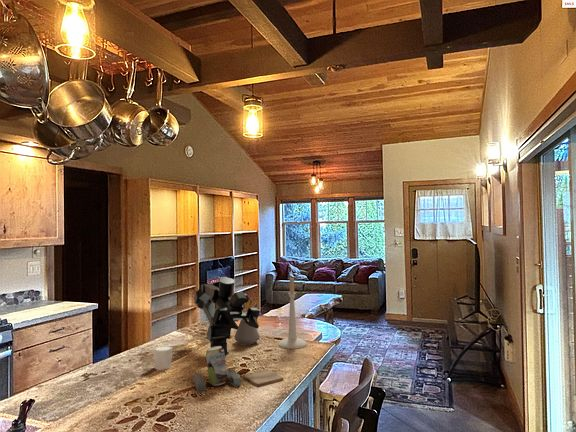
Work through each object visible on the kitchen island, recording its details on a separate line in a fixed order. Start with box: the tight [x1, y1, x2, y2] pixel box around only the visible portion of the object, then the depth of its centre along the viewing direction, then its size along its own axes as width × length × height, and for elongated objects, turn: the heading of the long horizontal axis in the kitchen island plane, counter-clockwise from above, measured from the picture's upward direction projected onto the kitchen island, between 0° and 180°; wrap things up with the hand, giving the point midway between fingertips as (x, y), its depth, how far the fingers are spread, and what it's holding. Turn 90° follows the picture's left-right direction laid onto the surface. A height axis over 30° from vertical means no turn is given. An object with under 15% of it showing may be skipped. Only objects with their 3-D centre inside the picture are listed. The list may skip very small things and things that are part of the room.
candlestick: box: [277, 277, 308, 350], centre depth 177 cm, size 13×13×30 cm
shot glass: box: [153, 345, 173, 371], centre depth 148 cm, size 7×7×7 cm
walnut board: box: [242, 369, 284, 387], centre depth 135 cm, size 10×10×1 cm
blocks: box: [193, 368, 242, 393], centre depth 131 cm, size 9×14×2 cm, turn 112°
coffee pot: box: [234, 303, 261, 346], centre depth 185 cm, size 21×12×15 cm, turn 167°
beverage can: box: [205, 346, 229, 387], centre depth 131 cm, size 6×7×12 cm
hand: (248, 327), depth 143 cm, fingers open, 9 cm apart
